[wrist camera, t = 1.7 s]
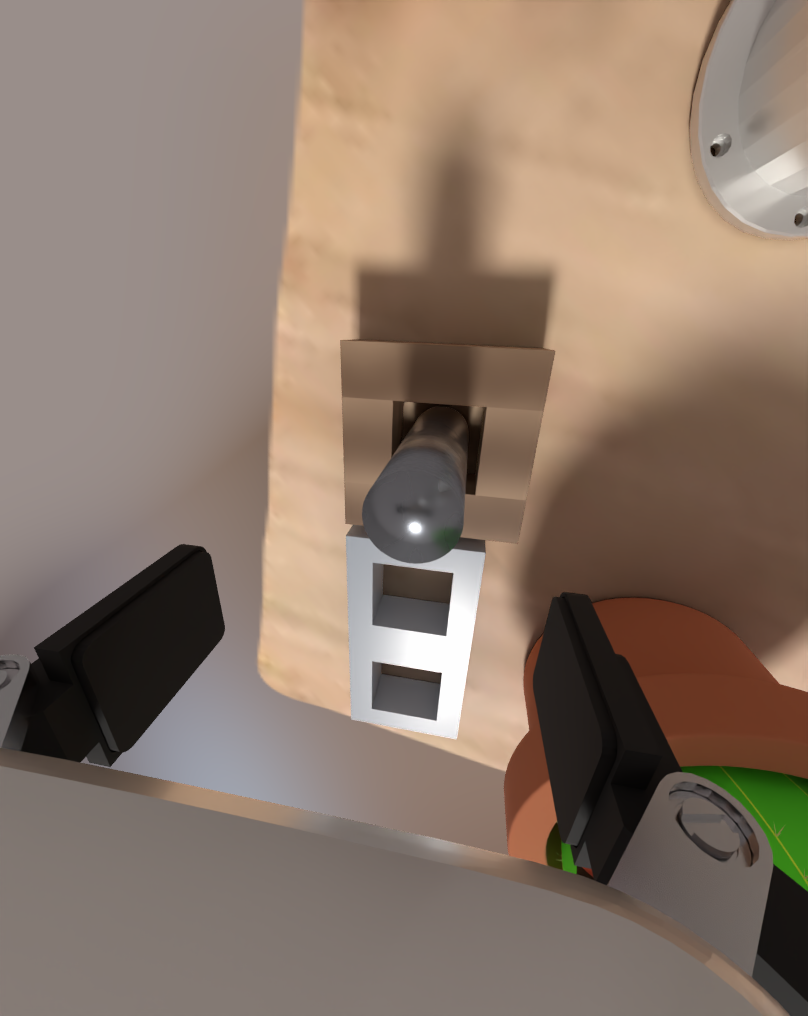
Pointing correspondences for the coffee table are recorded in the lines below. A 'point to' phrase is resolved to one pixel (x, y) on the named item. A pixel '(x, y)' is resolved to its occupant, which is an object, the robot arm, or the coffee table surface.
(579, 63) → the coffee table surface
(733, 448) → the coffee table surface
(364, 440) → the socket block
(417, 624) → the peg rack
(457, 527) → the metal peg
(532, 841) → the potted cactus
